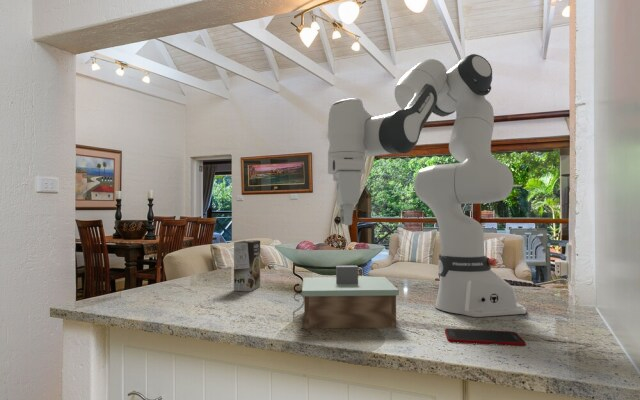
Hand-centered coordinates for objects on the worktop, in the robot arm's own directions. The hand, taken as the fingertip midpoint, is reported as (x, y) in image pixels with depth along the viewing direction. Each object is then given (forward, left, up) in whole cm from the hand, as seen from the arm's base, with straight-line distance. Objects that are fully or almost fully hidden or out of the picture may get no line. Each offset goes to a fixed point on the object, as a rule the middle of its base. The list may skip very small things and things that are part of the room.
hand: (346, 224), depth 98 cm
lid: (0, 0, -15) cm, 15 cm away
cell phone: (-27, +13, -24) cm, 38 cm away
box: (0, 0, -23) cm, 23 cm away
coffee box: (+30, -42, -23) cm, 57 cm away
